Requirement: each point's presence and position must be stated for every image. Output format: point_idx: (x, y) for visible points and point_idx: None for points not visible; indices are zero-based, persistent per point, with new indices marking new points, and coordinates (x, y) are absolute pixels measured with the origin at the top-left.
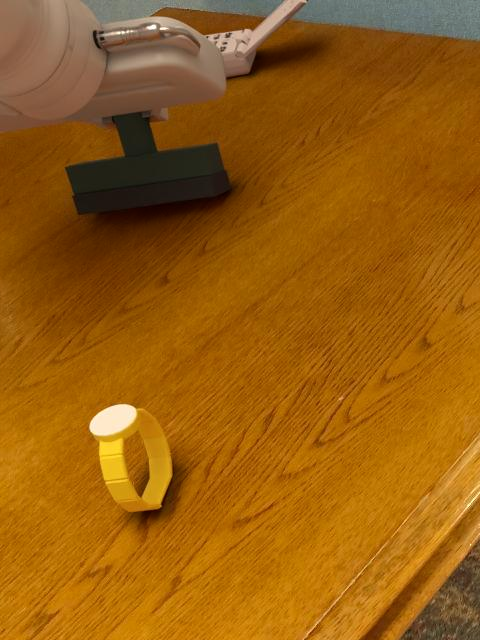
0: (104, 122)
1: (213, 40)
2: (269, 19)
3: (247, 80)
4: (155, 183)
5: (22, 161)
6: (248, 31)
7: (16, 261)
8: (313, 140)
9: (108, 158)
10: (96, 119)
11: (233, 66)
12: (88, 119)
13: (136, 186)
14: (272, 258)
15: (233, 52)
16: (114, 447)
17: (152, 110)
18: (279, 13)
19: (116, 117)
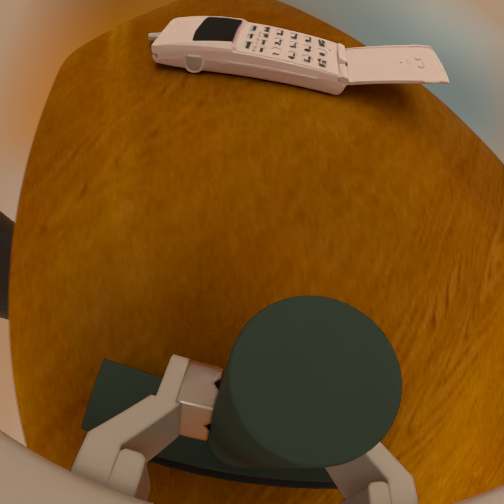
0: (183, 435)
1: (305, 43)
2: (375, 52)
3: (336, 106)
4: (256, 482)
5: (39, 163)
6: (343, 48)
7: (33, 444)
8: (443, 318)
9: (158, 383)
10: (165, 442)
11: (327, 86)
12: (148, 460)
13: (219, 476)
14: None
15: (337, 75)
16: None
17: (342, 493)
18: (396, 59)
19: (226, 457)
